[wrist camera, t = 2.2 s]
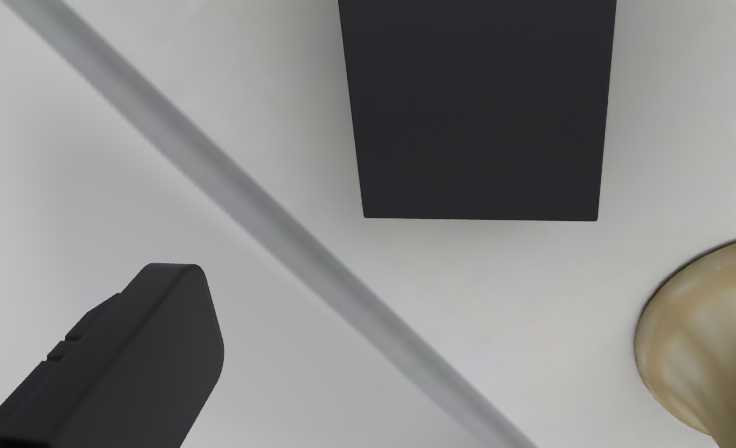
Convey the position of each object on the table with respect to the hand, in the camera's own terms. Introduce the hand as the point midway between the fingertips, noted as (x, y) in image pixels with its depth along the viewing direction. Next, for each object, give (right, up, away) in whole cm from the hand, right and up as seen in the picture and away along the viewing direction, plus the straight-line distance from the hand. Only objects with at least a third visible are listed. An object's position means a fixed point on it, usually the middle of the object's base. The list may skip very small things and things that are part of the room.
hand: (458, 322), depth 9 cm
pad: (+2, +7, +7) cm, 11 cm away
